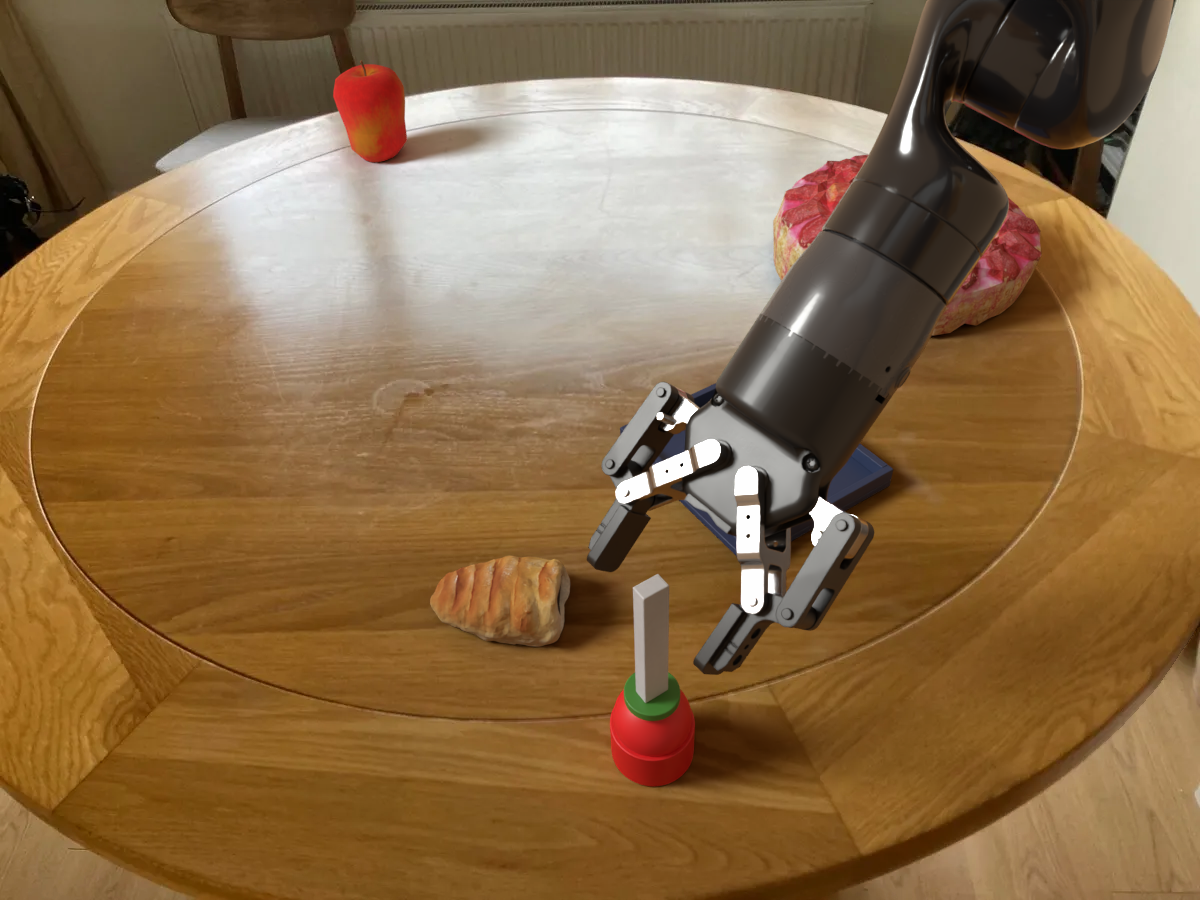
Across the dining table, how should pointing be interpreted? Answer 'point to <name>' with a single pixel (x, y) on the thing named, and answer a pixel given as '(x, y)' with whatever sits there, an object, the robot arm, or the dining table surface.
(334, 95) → the apple
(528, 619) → the pastry
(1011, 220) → the cake
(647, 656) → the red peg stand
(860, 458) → the tray
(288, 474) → the dining table surface
